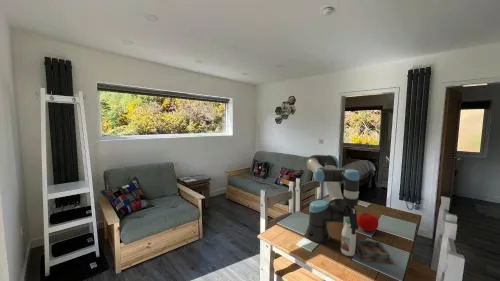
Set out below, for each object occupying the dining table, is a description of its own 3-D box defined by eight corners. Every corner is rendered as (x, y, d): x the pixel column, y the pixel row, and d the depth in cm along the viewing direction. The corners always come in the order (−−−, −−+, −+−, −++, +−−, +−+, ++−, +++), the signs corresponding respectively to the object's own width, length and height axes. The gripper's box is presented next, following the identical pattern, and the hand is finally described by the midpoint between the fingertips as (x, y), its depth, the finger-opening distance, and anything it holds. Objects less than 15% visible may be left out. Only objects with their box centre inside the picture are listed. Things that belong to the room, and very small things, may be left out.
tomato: (381, 235, 145) (382, 218, 144) (359, 232, 148) (360, 216, 147) (374, 226, 157) (375, 211, 156) (354, 224, 160) (355, 209, 159)
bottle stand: (361, 260, 119) (361, 253, 119) (352, 243, 135) (352, 237, 134) (393, 263, 116) (393, 256, 116) (380, 246, 132) (380, 240, 132)
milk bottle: (350, 248, 130) (352, 216, 128) (357, 256, 122) (359, 222, 120) (338, 248, 129) (339, 216, 128) (344, 256, 122) (346, 222, 120)
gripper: (365, 205, 110) (363, 245, 111) (351, 190, 134) (349, 223, 136) (350, 204, 111) (348, 244, 113) (338, 189, 135) (337, 222, 137)
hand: (349, 232), depth 124 cm, fingers open, 13 cm apart
